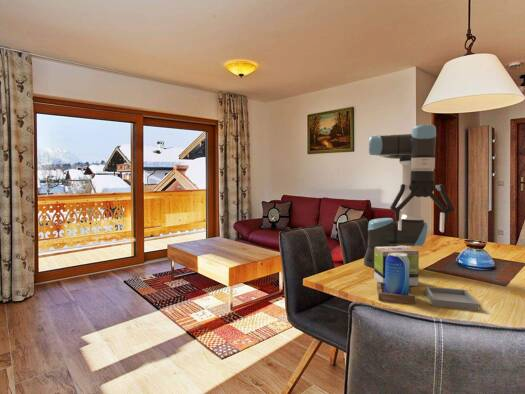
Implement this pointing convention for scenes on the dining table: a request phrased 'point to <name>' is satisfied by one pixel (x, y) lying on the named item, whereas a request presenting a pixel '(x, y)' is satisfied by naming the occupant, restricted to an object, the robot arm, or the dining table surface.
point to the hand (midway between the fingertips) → (420, 230)
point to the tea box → (380, 261)
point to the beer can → (397, 273)
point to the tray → (451, 298)
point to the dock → (393, 295)
